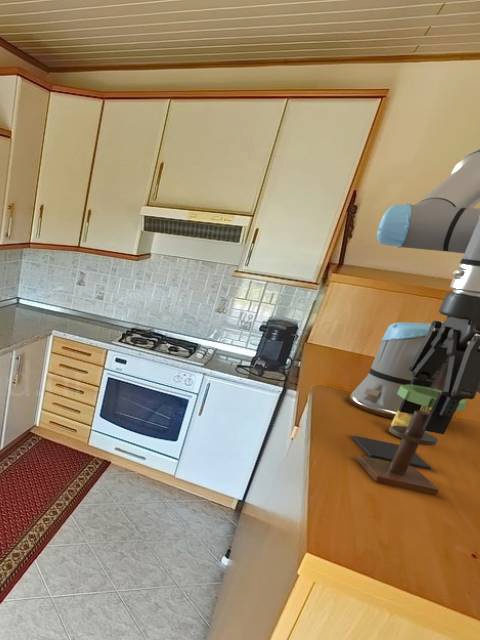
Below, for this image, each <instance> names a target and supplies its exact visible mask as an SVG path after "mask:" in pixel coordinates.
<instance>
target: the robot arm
mask: <svg viewBox="0 0 480 640" xmlns="http://www.w3.org/2000/svg"><path fill="white" fill-rule="evenodd" d="M479 204H480V148H478V149H476V150H475V151H473V152H471V153H470V154H468V155H466V156H465V157H464V158H462V159H461V160H460V161H459V162H458V163H457V164H456V165H455V166H454V168H453V169H452V171H451V174H450V176H448V177H447V178H446V179H445V180H443V181H442V182H441V183H440V184H438V185H437V186H436V187H435V188H434V189H432V190H431V191H429V193H428V194H426V195H425V196H424V197H423V198H421V199H420V200H419V201H418V202H416V203H415V204H411V203H405V204H393V205H391V206H390V207H389V208H388V209H387V210H386V211H385V212H384V214H383V215H382V217H381V220H380V222H379V225H378V228H377V232H376V233H377V234H376V238H377V241H378V243H379V244H381V245H384V246H391V247H396V248H404V249H414V250H415V249H417V250H427V251H437V252H438V251H439V252H447V253H455V254H463V256H462V258H461V260H460V261H459V264H458V267H457V269H456V270H453V272H452V276H453V278H452V280H451V282H450V283H451V284H450V285H449V288H450V290H451V289H452V291H448V292H447V293H445V295H444V298H443V300H442V302H441V304H440V307H439V309H438V313H439V314H440V315H442V316H445V317H446V319H445V320H444V321H442V320H441V321H439V320H432V322H431V323H427V322H412V321H411V322H408V321H400V322H399V321H398V322H394V323H392V324H390V325H389V326H388V327H387V329H386V331H385V332H384V335H383V336H382V338H381V339H380V340H381V342H380V344H379V347H378V349H377V352H376V353H375V357H374V359H373V362H372V364H371V366H370V369H369V371H368V373H367V375H366V376H365V378H364V379H363V380H362V381H361V382H360V383H359V384H358V385H357V387H356V388H355V389H354V390H353V391H352V392H351V393H350V396H349V398H348V402H349V403H350V404H351V405H352V406H354V407H356V408H358V409H361V410H363V411H365V412H368V413H371V414H374V415H376V416H380V417H383V418H388V419H392V420H393V419H394V417H395V415H396V413H397V411H400V412H403V413H409V414H414V412H415V410H420V409H421V406H422V405H419V404H416V403H413V402H410V401H407V400H405V399H403V398H402V397H400V396H399V395H398V394H397V393H398V390H399V388H400V386H401V385H408V384H410V385H418V386H423V387H429V388H430V387H431V385H432V383H433V382H431V381H427V379H428V380H435V377H434V374H435V372H436V371H437V370H438V369H439V368H440V366H441V365H442V364H443V363H444V362H445V360H446V359H447V358H448V357H450V359H449V364H448V370H447V376H446V381H445V387H444V392H443V391H442V392H438V397H437V399H436V401H435V403H434V405H433V407H432V409H431V411H430V414H429V416H428V418H427V420H426V422H425V424H424V426H423V430H424V431H428V432H427V433H434V434H439V435H445V433H446V431H447V429H448V427H449V425H450V423H451V421H452V419H453V417H454V414H455V413H456V412H455V411H456V409H457V407H458V404H459V402H460V401H461V400H462V399H464V400H474V399H475V397H476V395H477V393H478V394H480V208H476V206H477V205H479ZM398 409H399V410H398Z"/></svg>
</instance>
